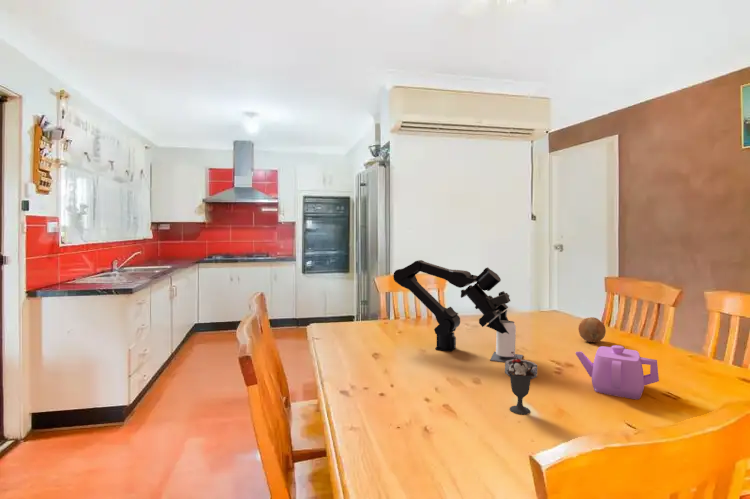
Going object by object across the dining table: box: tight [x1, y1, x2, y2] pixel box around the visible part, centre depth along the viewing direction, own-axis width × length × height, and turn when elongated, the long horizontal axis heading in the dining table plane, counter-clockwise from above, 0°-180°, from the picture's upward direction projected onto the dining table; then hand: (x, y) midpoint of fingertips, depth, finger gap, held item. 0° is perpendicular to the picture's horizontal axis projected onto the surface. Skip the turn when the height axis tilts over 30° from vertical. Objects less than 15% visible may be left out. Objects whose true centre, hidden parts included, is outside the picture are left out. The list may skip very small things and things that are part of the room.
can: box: [495, 320, 517, 357], centre depth 146 cm, size 6×6×12 cm
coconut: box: [578, 317, 607, 343], centre depth 167 cm, size 10×10×10 cm
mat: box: [489, 351, 524, 363], centre depth 147 cm, size 10×10×1 cm
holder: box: [504, 359, 538, 380], centre depth 132 cm, size 10×10×3 cm
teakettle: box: [575, 344, 660, 400], centre depth 119 cm, size 17×17×12 cm
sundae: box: [507, 352, 534, 416], centre depth 105 cm, size 7×7×15 cm
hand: (510, 333), depth 146 cm, fingers closed on can, 6 cm apart
